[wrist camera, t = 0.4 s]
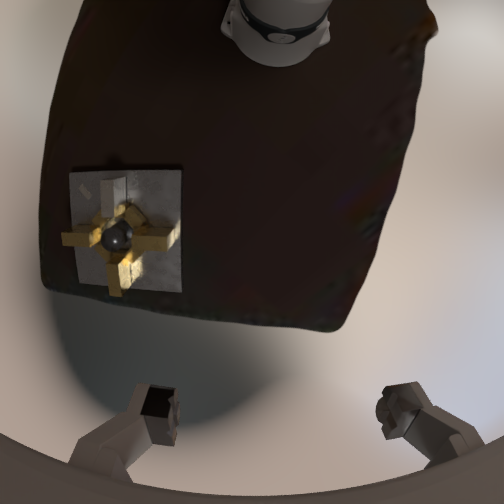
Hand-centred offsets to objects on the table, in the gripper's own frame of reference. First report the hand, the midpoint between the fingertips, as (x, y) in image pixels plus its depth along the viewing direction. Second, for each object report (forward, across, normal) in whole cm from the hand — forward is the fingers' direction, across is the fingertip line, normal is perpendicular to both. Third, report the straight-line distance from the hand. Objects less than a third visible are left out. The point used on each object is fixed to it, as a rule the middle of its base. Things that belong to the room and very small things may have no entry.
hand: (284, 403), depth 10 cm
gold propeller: (+41, +23, +6) cm, 47 cm away
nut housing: (+43, +23, +6) cm, 49 cm away
